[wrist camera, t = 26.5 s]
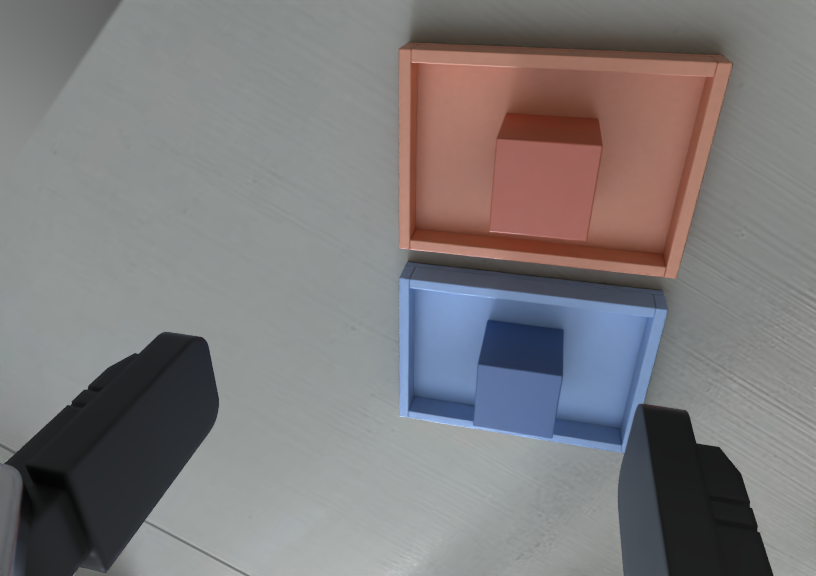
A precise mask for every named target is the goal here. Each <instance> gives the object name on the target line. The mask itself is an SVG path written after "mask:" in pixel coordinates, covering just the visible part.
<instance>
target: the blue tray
mask: <svg viewBox="0 0 816 576" xmlns="http://www.w3.org/2000/svg"><path fill="white" fill-rule="evenodd" d="M667 313H668V308H667V304H666V300H665V296H664V292H663V291H658V290H650V289H641V288H632V287H623V286H614V285H606V284H597V283H588V282H579V281H570V280H562V279H553V278H544V277H535V276H526V275H517V274H509V273H500V272H491V271H482V270H473V269H465V268H456V267H447V266H438V265H429V264H421V263H412V262H407V264H406V266H405V268H404V270H403V272H402V274H401V276H400V278H399V412H400V416H402V417H409V418H414V419H420V420H426V421H432V422H438V423H444V424H450V425H456V426H462V427H468V428H474V429H480V430H486V431H492V432H498V433H505V434H511V435H517V436H523V437H529V438H535V439H541V440H547V441H553V442H559V443H565V444H571V445H577V446H583V447H590V448H596V449H602V450H608V451H614V452H621V453H625V449H626V445H627V441H628V438H629V434H630V430H631V426H632V422H633V418H634V414H635V411H636V408H637V406H638V404H640V403H641V404H644V400H645V396H646V393H647V389H648V385H649V381H650V377H651V374H652V370H653V366H654V362H655V358H656V355H657V351H658V347H659V343H660V339H661V336H662V332H663V328H664V324H665V320H666V317H667ZM488 320H492V321H500V322H507V323H515V324H523V325H531V326H539V327H546V328H554V329H562V330H564V358H563V381H562V386H561V392H560V398H559V404H558V410H557V416H556V422H555V428H554V434H553V438H552V439H549V438H543V437H537V436H531V435H525V434H519V433H513V432H506V431H500V430H494V429H488V428H482V427H476V426H473V418H474V405H475V392H476V379H477V367H478V361H479V356H480V351H481V347H482V342H483V338H484V333H485V328H486V324H487V321H488Z"/></svg>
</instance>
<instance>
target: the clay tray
mask: <svg viewBox="0 0 816 576" xmlns="http://www.w3.org/2000/svg"><path fill="white" fill-rule="evenodd" d="M732 65H733V63H732V62H731V61H729V60H728V59H727V58H725V57H724V56H723V55H708V54H684V53H659V52H635V51H610V50H586V49H561V48H537V47H513V46H488V45H464V44H439V43H415V42H409V43H407V44H406V45H404V46H403V47H401V48H399V248H402V249H411V250H420V251H429V252H438V253H447V254H456V255H466V256H475V257H484V258H493V259H502V260H511V261H520V262H530V263H539V264H548V265H557V266H566V267H575V268H585V269H594V270H603V271H612V272H621V273H630V274H639V275H649V276H658V277H667V278H677V275H678V271H679V267H680V263H681V259H682V256H683V252H684V248H685V244H686V240H687V237H688V233H689V229H690V225H691V221H692V218H693V214H694V210H695V206H696V202H697V198H698V195H699V191H700V187H701V183H702V179H703V176H704V172H705V168H706V164H707V160H708V157H709V153H710V149H711V145H712V141H713V138H714V134H715V130H716V126H717V122H718V119H719V115H720V111H721V107H722V103H723V100H724V96H725V92H726V88H727V84H728V81H729V77H730V73H731V69H732ZM506 113H514V114H531V115H547V116H564V117H580V118H596V119H599V124H600V130H601V136H602V143H603V150H602V156H601V162H600V168H599V173H598V179H597V185H596V191H595V197H594V203H593V209H592V215H591V221H590V226H589V232H588V238H587V241H580V240H570V239H560V238H550V237H540V236H530V235H520V234H510V233H500V232H490V231H489V224H490V211H491V198H492V186H493V173H494V160H495V148H496V138H497V135H498V133H499V130H500V127H501V125H502V122H503V119H504V117H505V114H506Z"/></svg>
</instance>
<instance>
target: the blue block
mask: <svg viewBox="0 0 816 576" xmlns="http://www.w3.org/2000/svg"><path fill="white" fill-rule="evenodd" d="M563 358H564V330H562V329H554V328H546V327H539V326H531V325H523V324H515V323H507V322H500V321H492V320H488V321H487V324H486V328H485V333H484V338H483V342H482V347H481V351H480V356H479V361H478V367H477V379H476V392H475V405H474V418H473V426H476V427H482V428H488V429H494V430H500V431H506V432H513V433H519V434H525V435H531V436H537V437H543V438H549V439H552V438H553V434H554V428H555V422H556V416H557V410H558V404H559V398H560V392H561V386H562V381H563Z"/></svg>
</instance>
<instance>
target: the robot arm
mask: <svg viewBox="0 0 816 576" xmlns="http://www.w3.org/2000/svg"><path fill="white" fill-rule="evenodd" d="M218 408H219V397H218V392H217V387H216V382H215V377H214V372H213V367H212V362H211V356H210V351H209V347H208V344H207V342H206V340H205V339H204V338H202V337H198V336H192V335H185V334H178V333H171V332H163V333H161V334H159V335H158V336H157V337H156V338H155V339H154V340H153V341H152V342H151V343H150V344H149V345H148V346H147V347H146V348H145V349H144V350H142V351H141V352H140V353H139V354H136V353H134V354H132V355H131V356H129V357H127V358H125V359H123V360H121V361H120V362H118V363H116V364H114V365H112V366H110V367H109V368H107V369H106V370H105V371H104V372H103V373H102V374H101V375H100V376H99V377H98V378H96V379H95V380H94V381H93V382H92V383H91V384H90V385H89V386H88V390H84V391H82V392H81V393H80V394H79V395H78V396H77V397H76V398H75V399H74V400H73V401H72V404H71V406H70V405H67V406H66V407H65V408H64V409H63V410H62V411H61V412H60V413H59V414H58V415H57V416H55V417H54V418H53V419H52V420H51V421H50V422H49V423H48V424H47V425H46V426H45V427H44V428H43V429H41V430H40V431H39V432H38V433H37V434H36V435H35V436H34V437H33V438H32V439H31V440H30V441H29V442H27V443H26V444H25V445H24V446H23V447H22V448H21V449H20V450H19V451H18V452H17V453H16V454H15V455H13V456H12V457H11V458H10V459H9V460H8V461H7V462H6V463H5V464H1V463H0V576H73V575H74V573H75V572H76V571H77V569H78V568H79V567H82V568H86V569H91V570H95V571H99V572H103V573H107V571H108V570H109V569H110V567H111V566H112V564H113V563H114V562H115V560H116V559H117V558H118V556H119V555H120V554H121V552H122V551H123V549H124V548H125V547H126V545H127V544H128V543H129V541H130V540H131V539H132V537H133V536H134V534H135V533H136V532H137V530H138V529H139V528H140V526H141V525H142V523H143V522H144V521H145V519H146V518H147V517H148V515H149V514H150V513H151V511H152V510H153V508H154V507H155V506H156V504H157V503H158V502H159V500H160V499H161V498H162V496H163V495H164V493H165V492H166V491H167V489H168V488H169V487H170V485H171V484H172V483H173V481H174V480H175V478H176V477H177V476H178V474H179V473H180V472H181V470H182V469H183V467H184V466H185V465H186V463H187V462H188V461H189V459H190V458H191V457H192V455H193V454H194V452H195V451H196V450H197V448H198V447H199V446H200V444H201V443H202V442H203V440H204V439H205V437H206V436H207V435H208V433H209V432H210V430H211V429H212V427H213V425H214V423H215V421H216V418H217V414H218ZM618 511H619V523H620V535H621V547H622V559H623V571H624V576H773V572H772V569H771V566H770V563H769V560H768V557H767V554H766V551H765V547H764V544H763V541H762V538H761V535H760V532H758V531H757V527H758V525H757V522H756V519H755V516H754V513H753V510H752V508H750V500H749V497H748V494H747V491H746V488H745V485H744V482H743V478H742V475H741V473H740V472H739V471H738V469H737V468H736V467H735V466H734V465H733V463H732V462H731V461H730V460H729V458H728V457H727V456H726V455H725V454H724V452H723V451H722V450H721V449H720V447H715V446H709V445H702V444H696V440H695V436H694V432H693V428H692V424H691V420H690V417H689V414H688V412H687V411H686V410H681V409H674V408H668V407H661V406H654V405H647V404H641V403H640V404H638V406H637V408H636V411H635V414H634V418H633V422H632V426H631V430H630V434H629V438H628V441H627V445H626V449H625V453H624V457H623V461H622V465H621V469H620V475H619V483H618Z"/></svg>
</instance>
